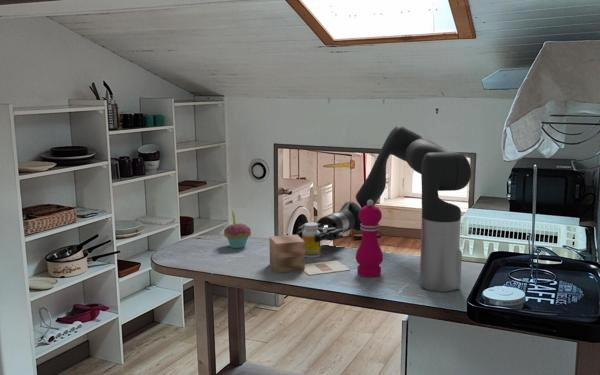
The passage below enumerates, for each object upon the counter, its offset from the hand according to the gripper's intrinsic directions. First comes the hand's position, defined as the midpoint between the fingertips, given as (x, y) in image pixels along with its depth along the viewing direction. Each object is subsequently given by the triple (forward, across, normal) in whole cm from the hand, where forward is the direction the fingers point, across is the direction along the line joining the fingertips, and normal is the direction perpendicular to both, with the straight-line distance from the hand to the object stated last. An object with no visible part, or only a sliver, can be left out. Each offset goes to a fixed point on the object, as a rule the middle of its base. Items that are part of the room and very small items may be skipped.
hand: (307, 237), depth 162 cm
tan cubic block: (+10, -1, +6) cm, 12 cm away
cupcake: (-1, -25, +6) cm, 26 cm away
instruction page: (+6, +9, +6) cm, 12 cm away
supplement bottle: (-3, 0, +6) cm, 7 cm away
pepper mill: (+5, +22, +6) cm, 23 cm away
